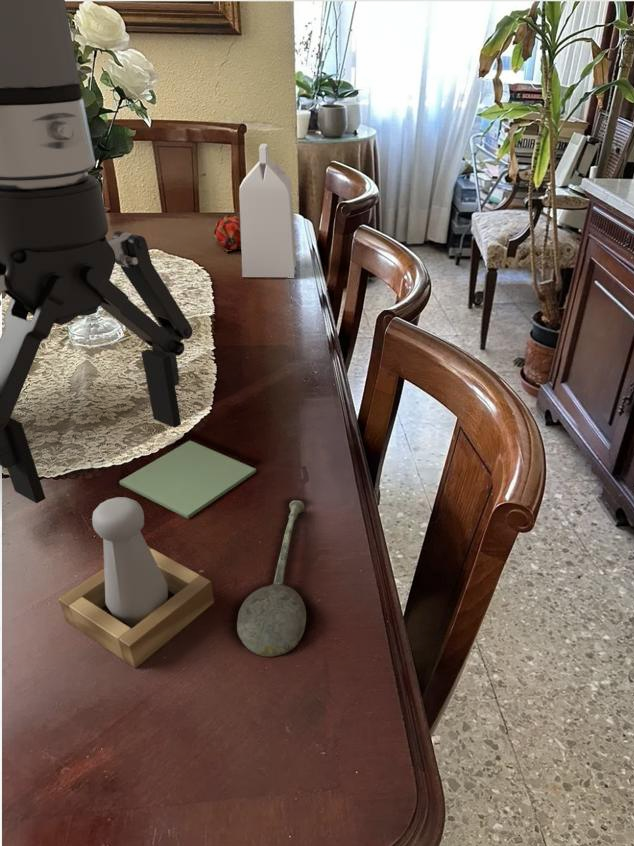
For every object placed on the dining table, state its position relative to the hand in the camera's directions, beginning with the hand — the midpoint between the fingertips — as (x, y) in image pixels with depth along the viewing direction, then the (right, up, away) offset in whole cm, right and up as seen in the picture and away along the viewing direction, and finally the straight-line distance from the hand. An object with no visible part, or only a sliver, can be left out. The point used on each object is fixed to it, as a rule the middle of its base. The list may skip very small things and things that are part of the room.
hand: (104, 455), depth 54 cm
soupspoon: (+13, -12, +16) cm, 24 cm away
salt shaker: (-1, -15, +11) cm, 19 cm away
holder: (-1, -15, +11) cm, 18 cm away
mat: (-1, -2, +30) cm, 30 cm away
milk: (0, +46, +98) cm, 109 cm away
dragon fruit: (-11, +56, +111) cm, 125 cm away
